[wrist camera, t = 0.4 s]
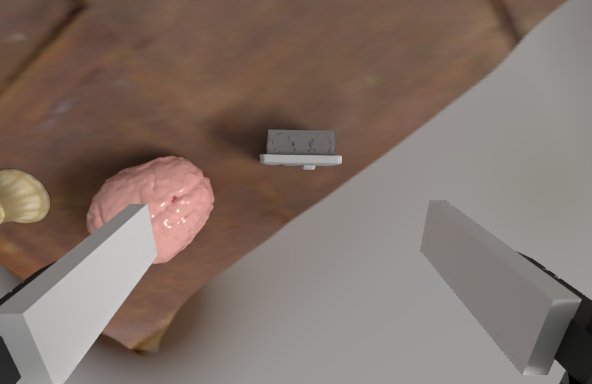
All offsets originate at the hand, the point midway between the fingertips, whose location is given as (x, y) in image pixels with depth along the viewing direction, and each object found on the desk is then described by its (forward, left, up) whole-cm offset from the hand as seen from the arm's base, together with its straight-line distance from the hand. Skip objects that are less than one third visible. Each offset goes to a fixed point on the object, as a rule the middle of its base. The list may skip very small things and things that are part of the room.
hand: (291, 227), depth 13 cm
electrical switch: (+2, +1, -28) cm, 28 cm away
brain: (+9, -18, -28) cm, 34 cm away
